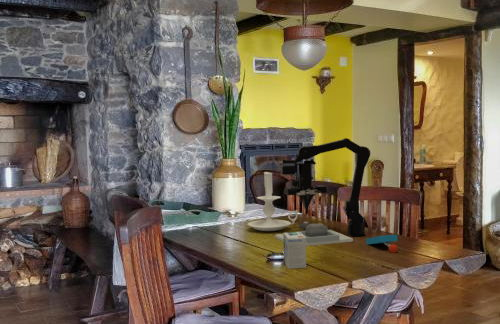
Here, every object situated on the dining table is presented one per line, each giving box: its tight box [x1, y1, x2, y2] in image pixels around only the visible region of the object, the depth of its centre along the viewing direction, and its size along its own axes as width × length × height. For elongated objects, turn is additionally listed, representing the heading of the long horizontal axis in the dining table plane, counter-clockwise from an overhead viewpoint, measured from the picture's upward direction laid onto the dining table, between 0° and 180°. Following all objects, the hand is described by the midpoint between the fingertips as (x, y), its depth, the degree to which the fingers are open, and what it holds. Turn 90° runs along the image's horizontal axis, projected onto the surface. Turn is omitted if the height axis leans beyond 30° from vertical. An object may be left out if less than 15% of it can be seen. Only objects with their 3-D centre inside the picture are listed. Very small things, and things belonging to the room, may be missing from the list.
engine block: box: [305, 222, 329, 237], centre depth 233 cm, size 8×5×6 cm, turn 107°
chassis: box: [274, 229, 354, 247], centre depth 237 cm, size 27×22×3 cm
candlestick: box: [247, 171, 299, 232], centre depth 261 cm, size 21×25×28 cm
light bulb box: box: [282, 231, 307, 270], centre depth 195 cm, size 11×7×11 cm, turn 5°
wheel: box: [298, 221, 313, 230], centre depth 244 cm, size 6×6×3 cm
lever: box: [365, 234, 399, 254], centre depth 217 cm, size 7×7×18 cm
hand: (306, 209), depth 244 cm, fingers closed
